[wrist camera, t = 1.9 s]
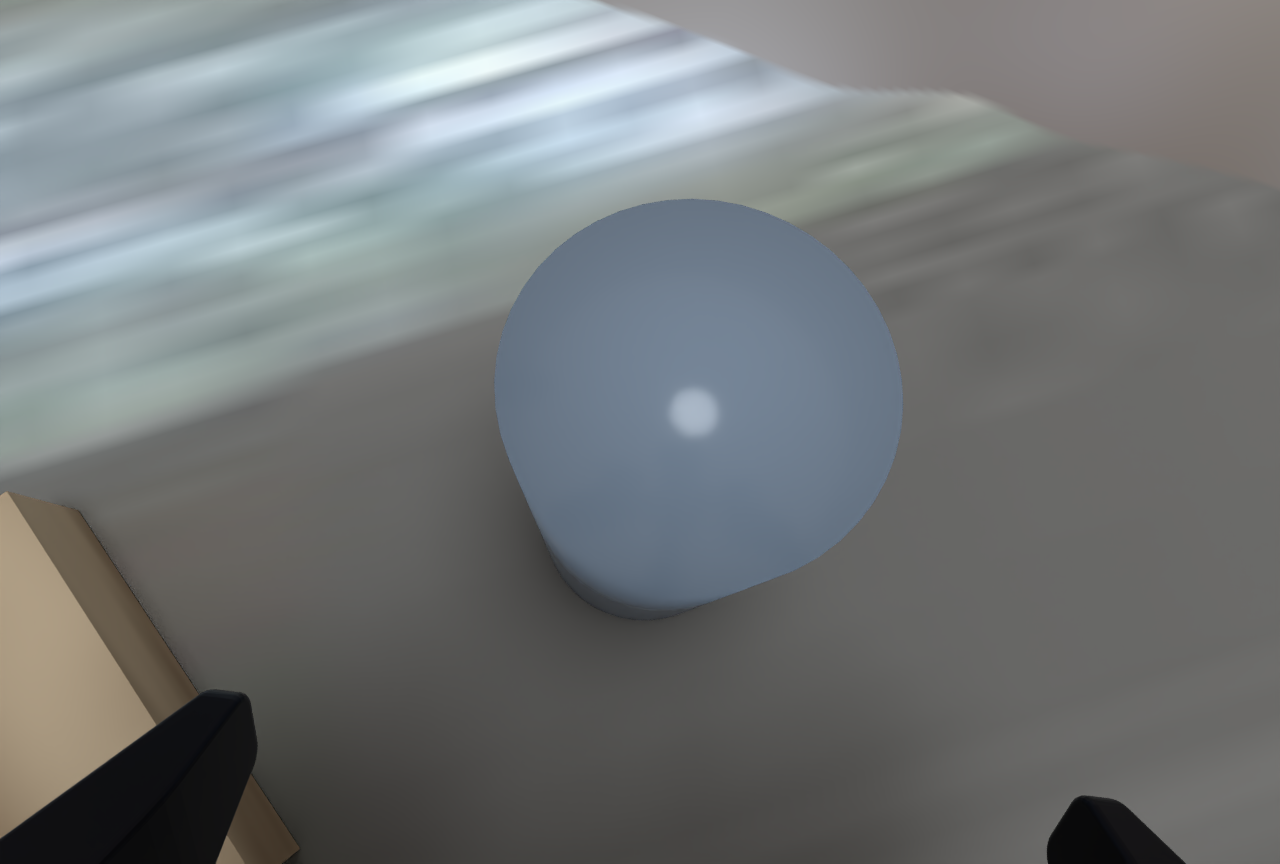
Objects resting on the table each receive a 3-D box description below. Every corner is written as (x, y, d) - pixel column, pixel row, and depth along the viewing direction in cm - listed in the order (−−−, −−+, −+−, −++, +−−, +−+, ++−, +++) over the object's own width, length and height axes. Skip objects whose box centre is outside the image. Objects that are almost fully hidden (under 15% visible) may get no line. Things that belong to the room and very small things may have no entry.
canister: (628, 664, 20) (675, 683, 9) (503, 502, 20) (410, 346, 10) (782, 534, 21) (985, 414, 10) (657, 386, 22) (723, 132, 11)
